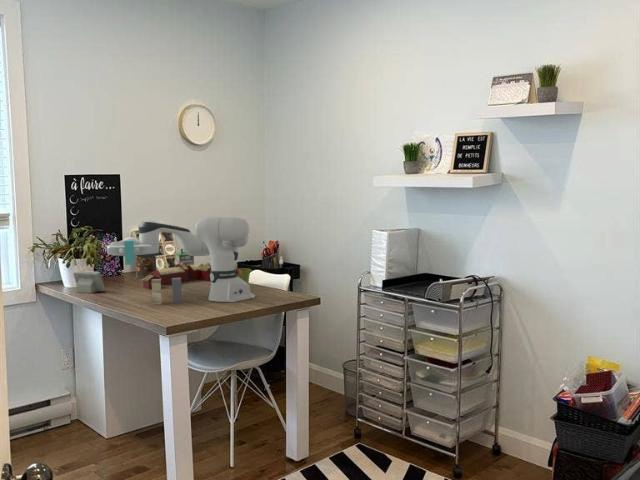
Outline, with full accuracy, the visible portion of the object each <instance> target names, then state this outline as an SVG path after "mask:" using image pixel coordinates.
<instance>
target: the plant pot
mask: <svg viewBox="0 0 640 480" xmlns="http://www.w3.org/2000/svg"><path fill="white" fill-rule="evenodd" d="M235 269H236V270H241V271H242V272H241V274H238V277H239V278H241V279H242V280H243V281H245V282H246V283H248V284H249V280H250V274H251V272H252V269H251V268H244V267H243V268H235Z"/></svg>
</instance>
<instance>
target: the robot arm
mask: <svg viewBox="0 0 640 480" xmlns="http://www.w3.org/2000/svg"><path fill="white" fill-rule="evenodd" d="M194 226H195V227H194V231H195V234H194V233H192V232H191V231H190V229H188V228H185V227H181V226H176V225H171V224H166V223H160V222H157V221H154V220H143V221H141V223H140V224H139V225H138V234H139V235H138V239H137V238H136V237H134V236H127V237H126V238H124V239H123V240H118V241H112V242H111V243H110V244H108V245H107V248H106V250H107V251H106V253H107V255H109V256H110V255H111V256H116V257H117V256H119V257H125V244H124V241H125V240H134V257H136V256H137V257H139V258H152V257H154V256H156V257H157V255H158V254H160V252H159V251H160V233H161V232H163V233H170V234H173V235H175V236H176V237H177V239H178V241H179V244H180V247H181V248H182V249H183V252H185V253H186V254H187V255H189V256H194V257H206V256H209V257H210V265H211V270H210V280H211V281H210V291H209V294H208V295H209V296H208V298H207V299H208V301H209V302H210V301H211V302H217V303H218V302H222V303H225V302H226V303H227V302H228V303H234V302H240V301H245V300H249V299H255V298H256V294H254V293H252V292H251V287H250V284H249V283H246V282H245V281H243V280H242V279H241V278H239V277H238V274H241V272H242V271H241V270H236V269H237V268H235V267H236V266H235V264H236V263H235V262H236V261H237V260H238V258H239V251H238V249H239V248H243V247H244V246H246V245H247V244H248V242H249V234H250V225H249V222H248V221H247V220H246V219H245V218H241V217H236V216H235V217H232V216H231V217H229V216H227V217H223V216H220V217H219V216H209V217H202V218H199V219H198V220H197V221H196V224H195V225H194Z"/></svg>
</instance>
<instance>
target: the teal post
mask: <svg viewBox="0 0 640 480" xmlns="http://www.w3.org/2000/svg"><path fill="white" fill-rule="evenodd" d="M124 244H125V256H124V265H125V266H129V265H131V266H132V265H136V261H135V256H134V240H125V241H124Z"/></svg>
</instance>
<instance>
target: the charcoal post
mask: <svg viewBox="0 0 640 480" xmlns="http://www.w3.org/2000/svg"><path fill="white" fill-rule="evenodd" d="M171 290H172V291H171V293H172V295H171V296H172V298H171V299H172V303H173V304H177V303H183V302H182V282H181V278H172V284H171Z"/></svg>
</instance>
